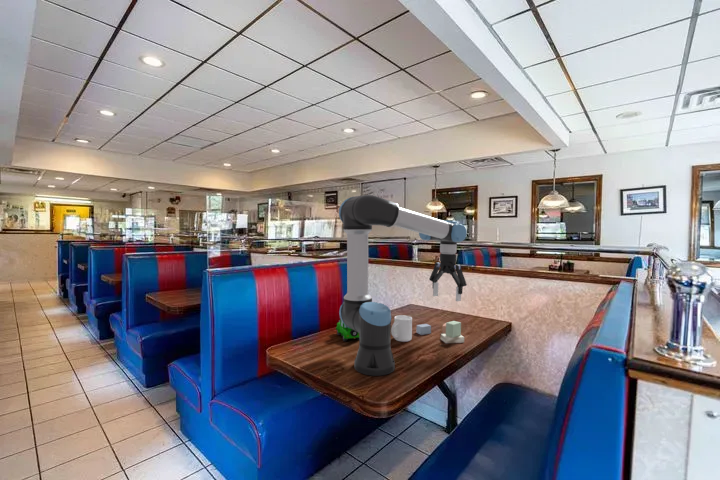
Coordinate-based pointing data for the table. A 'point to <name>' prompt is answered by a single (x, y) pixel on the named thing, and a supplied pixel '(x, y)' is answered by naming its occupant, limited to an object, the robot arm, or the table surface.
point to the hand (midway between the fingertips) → (446, 298)
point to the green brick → (453, 329)
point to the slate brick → (423, 329)
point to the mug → (402, 328)
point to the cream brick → (452, 339)
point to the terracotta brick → (444, 329)
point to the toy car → (346, 331)
